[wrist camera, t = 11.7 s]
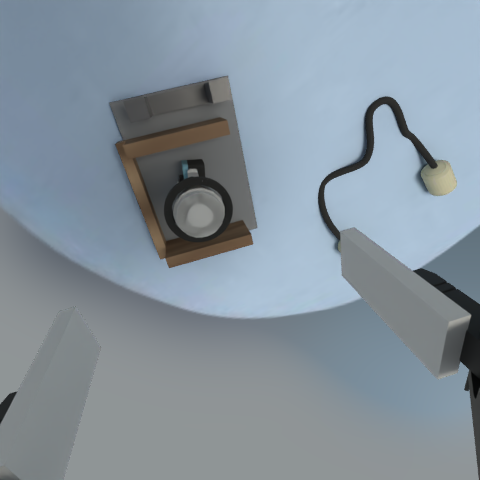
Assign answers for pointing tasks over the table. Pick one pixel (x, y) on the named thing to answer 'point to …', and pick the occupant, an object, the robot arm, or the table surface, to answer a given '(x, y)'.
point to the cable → (433, 174)
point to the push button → (197, 205)
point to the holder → (172, 249)
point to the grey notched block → (178, 99)
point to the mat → (191, 156)
